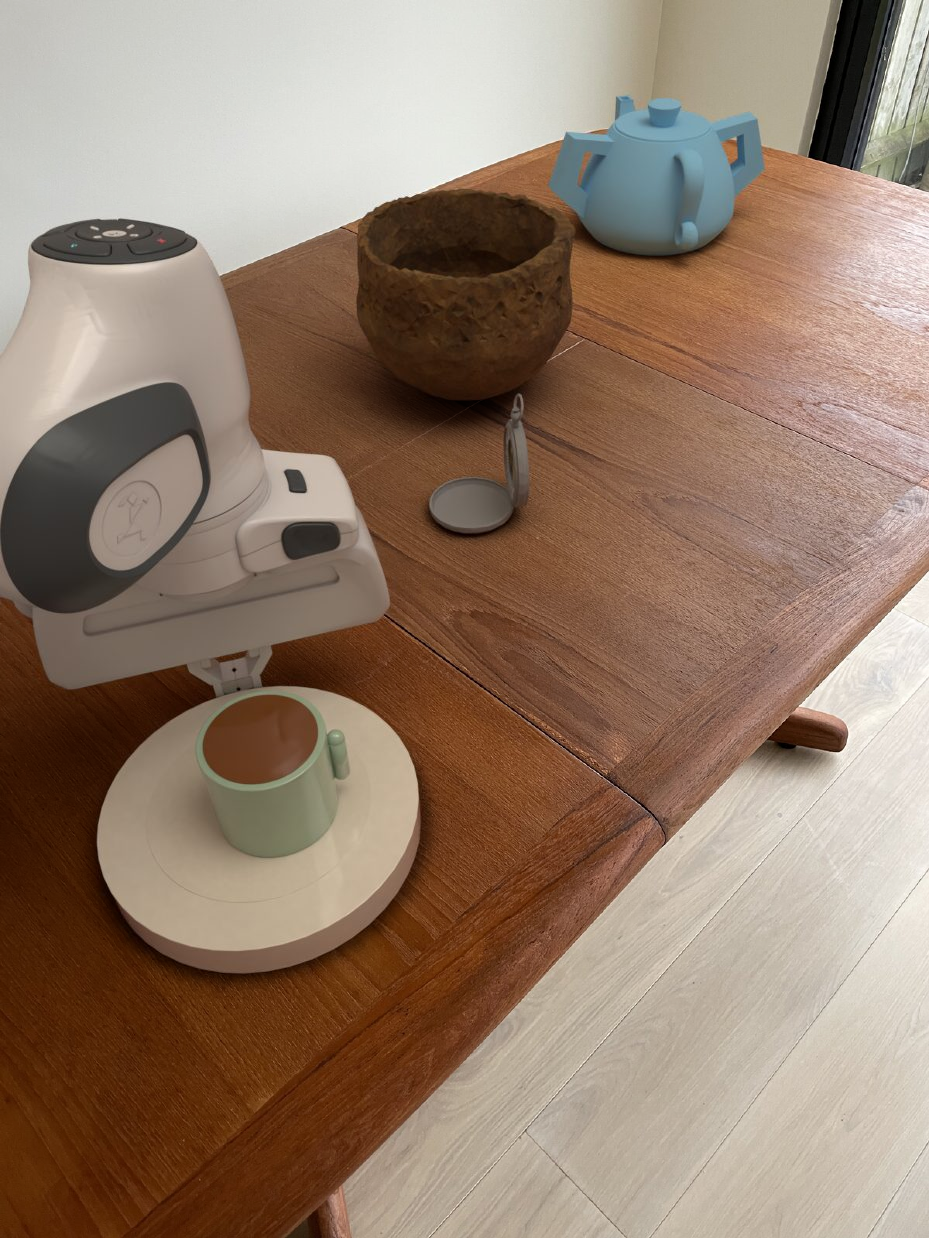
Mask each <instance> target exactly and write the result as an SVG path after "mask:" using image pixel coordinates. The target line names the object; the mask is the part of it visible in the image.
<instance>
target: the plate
mask: <svg viewBox="0 0 929 1238" xmlns="http://www.w3.org/2000/svg"><path fill="white" fill-rule="evenodd" d="M259 691H283V692H288V693H292V694H295V695H298V696H300V697H302V698H304V699H306V700H307V701H309V702H310V703H312V704H313V705H314V706H315V707H316V708H317V710H318V711H319V712H320V713H321V715H322V717H323V719H324V722H325V726H326V731H327V734H328V733H329V732H330V731H332V730H340V731H341V732H343V734H344V736H345V741H346V747H347V753H348V759H349V765H350V774H349V776H348V777H347V778H346V779H344V780H338V779H336V778H335V779H336V785H337V790H338V797H339V804H338V809H337V813H336V816H335V818H334V820H333V822H332V824H331V826H330V827H329V828H328V830H327V831H326V832H325V833H324V834H323V836H322V837H320V838H319V839H318V840H317V841H316V842H314V843H313V844H312V845H310V846H308V847H307V848H305V849H303V850H301V851H298V852H296V853H293V854H290V855H286V856H281V857H271V858H270V857H258V856H253V855H249V854H246V853H244V852H242V851H240V850H238V849H237V848H235V847H234V846H232V845H231V844H230V843H229V842H228V841H227V840H226V839H225V838H224V836H223V834H222V833H221V830H220V828H219V825H218V822H217V819H216V816H215V813H214V810H213V807H212V804H211V801H210V798H209V795H208V792H207V789H206V786H205V783H204V780H203V777H202V774H201V771H200V768H199V765H198V762H197V758H196V749H195V747H196V741H197V738H198V734H199V732H200V730H201V728H202V726H203V725H204V723H205V722H206V720H207V719H208V718H209V717H210V716H211V715H212V714H213V713H214V712H215V711H216V710H217V709H219V708H220V707H221V706H223V705H224V704H226V703H227V702H229V701H231V700H233V699H235V698H237V697H240V696H243V695H246V694H249V693H253V692H259ZM421 815H422V813H421V801H420V791H419V782H418V778H417V772H416V768H415V765H414V763H413V760H412V757H411V756H410V753H409V751H408V749H407V748H406V746H405V744H404V743H403V741H402V739H401V738H400V736H399V735H398V734H397V733H396V732H395V730H394V729H393V728H392V727H391V726H390V725H389V724H388V723H387V722H386V721H384V719H382V718H381V717H380V716H379V715H378V714H377V713H375V712H374V711H372V710H370V709H369V708H368V707H366V706H365V705H362V704H361V703H359V702H357V701H355V700H353V699H351V698H349V697H346V696H342V695H340V694H337V693H335V692H331V691H327V690H322V689H318V688H314V687H313V688H312V687H304V686H294V685H293V686H292V685H291V686H290V685H289V686H288V685H275V686H274V685H273V686H262V687H261V688H254V689H249V690H243V691H238V692H235V693H231V694H227V695H223V696H221V697H218V698H216V697H215V698H213V699H210V700H207V701H205V702H202V703H200V704H198V705H196V706H194V707H191V708H189V709H187V710H185V711H184V712H182V713H181V714H179V715H177V716H176V717H174V718H172V719H170V720H169V721H168V722H166V723H165V724H163V725H162V726H161V727H160V728H158V729H157V730H155V731H154V732H153V733H152V734H151V735H150V736H148V737H147V738H146V739H145V740H144V741H143V742H141V744H139V746H138V747H137V748H136V749H135V750H134V751H133V752H132V753H131V755H130V756H129V757H128V758H127V759H126V761H125V762H124V764H123V765H122V766H121V767H120V769H119V770H118V772H117V773H116V775H115V776H114V779H113V780H112V783H111V784H110V786H109V788H108V790H107V792H106V795H105V797H104V801H103V803H102V805H101V810H100V814H99V819H98V823H97V833H96V847H97V848H96V849H97V856H98V863H99V865H100V870H101V873H102V877H103V879H104V881H105V883H106V884H107V887H108V889H109V891H110V893H111V895H112V898H113V899H114V902H115V903H116V905H117V907H118V909H119V911H120V913H121V916H122V917H123V919H124V920H125V921H126V923H127V924H128V925H129V927H130V928H131V929H132V930H133V932H135V934H137V935H138V936H139V937H140V938H141V940H143V941H144V942H145V943H146V944H147V945H149V946H150V947H152V948H153V949H155V950H156V951H157V952H159V953H160V954H162V955H163V956H166V957H168V958H169V959H172V960H174V961H176V962H178V963H180V964H183V965H187V966H189V967H193V968H196V969H199V970H205V971H210V972H216V973H223V974H254V973H255V974H256V973H265V972H267V973H268V972H271V971H276V970H282V969H286V968H291V967H294V966H297V965H299V964H300V965H301V964H303V963H305V962H308V961H312V960H314V959H316V958H319V957H320V956H323V955H325V954H326V953H329V952H331V951H333V950H335V949H336V948H338V947H340V946H342V945H344V944H345V943H346V942H348V941H349V940H351V939H353V938H354V937H355V936H357V934H359V933H360V932H362V931H363V930H364V929H366V928H367V927H368V926H369V925H371V923H373V921H375V920H376V918H378V916H379V915H381V914H382V913H383V911H385V910H386V908H388V906H389V904H390V903H391V902H392V900H394V898H395V897H396V896H397V894H398V893H399V891H400V889H401V888H402V886H403V884H404V883H405V881H406V879H407V878H408V876H409V873H410V871H411V869H412V866H413V864H414V861H415V858H416V856H417V852H418V848H419V844H420V838H421V829H422V828H421V826H422V816H421Z"/></svg>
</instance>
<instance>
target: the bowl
mask: <svg viewBox="0 0 929 1238" xmlns="http://www.w3.org/2000/svg"><path fill="white" fill-rule="evenodd" d="M373 208H374V209H373V210H372V211H368V212H367V213H366V214H365V215H364V216H363V217H362V219H361V220H359V222H358V224H357V234H356V244H357V259H356V265H357V266H356V267H357V275H358V288H357V293H356V317H357V320H358V325H359V327H360V329H361V331H362V332H363V335H364V336H365V338H366V340H367V342H368V344H369V345H370V348H371V349H372V350H373V352H374V354H375V355H376V357H377V359H378V360H379V362H380V363H381V365H383V367H384V368H385V369H386V370H388V371H389V372H390V373H392V374H393V375H394V376H396V377H397V378H398V379H400V380H401V381H403V382H404V383H406V384H407V385H409V386H411V387H412V388H414V389H417V390H420V391H422V392H424V393H427V394H429V395H431V396H433V397H436V398H440V399H444V400H448V401H479V400H485V399H490V398H493V397H494V398H495V397H497V396H499V395H502V394H505V393H508V392H510V391H513V390H514V389H516V388H519V387H520V386H521V385H523V384H524V383H526V382H527V381H528V380H530V379H532V377H534V376H535V375H536V374H537V373H538V372H540V371H541V370H542V369H543V368H544V367H545V365H547V363H549V360H550V359H551V357H552V356H553V354H554V352H555V351H556V349H557V347H558V345H559V343H560V342H561V340H562V339H563V337H564V336H565V333H566V332H567V330H568V328H569V326H570V324H571V321H572V317H573V316H572V315H573V304H574V303H573V289H572V284H571V259H572V253H573V245H574V244H573V243H574V237H575V236H576V234H577V230H576V227H575V225H574V224H572V223H571V220H570V218H569V217H566V215H564V214H563V213H562V211H561V210H558V209H557V208H556V207H548V206H546V205H545V204H543V203H540V201H538V200H536V199H531V198H528V197H527V196H526V194H521V193H519V194H515V195H511V194H509V193H508V192H498V193H497V192H494V191H491V190H490V191H484V190H482V189H477V190H475V189H471V188H458V189H450V190H444V189H441V190H436V191H434V190H433V191H432V190H431V191H429V192H427V193H416V194H414V195H412V196H409V195H406V196H404V197H398V198H397V199H392V200H391V201H386V202H383V203H381V204H380V205H378V206H375V207H373Z"/></svg>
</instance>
